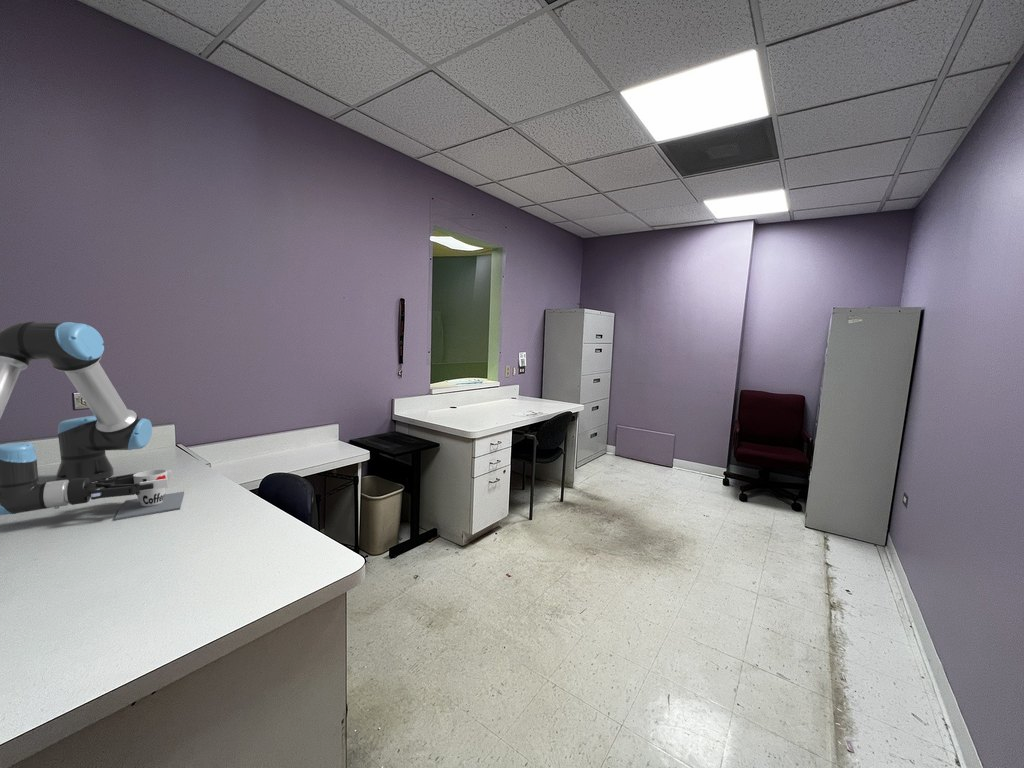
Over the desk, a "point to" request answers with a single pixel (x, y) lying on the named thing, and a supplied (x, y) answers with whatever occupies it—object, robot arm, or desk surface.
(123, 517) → the mat
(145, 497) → the cup
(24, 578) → the desk surface
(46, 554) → the desk surface
